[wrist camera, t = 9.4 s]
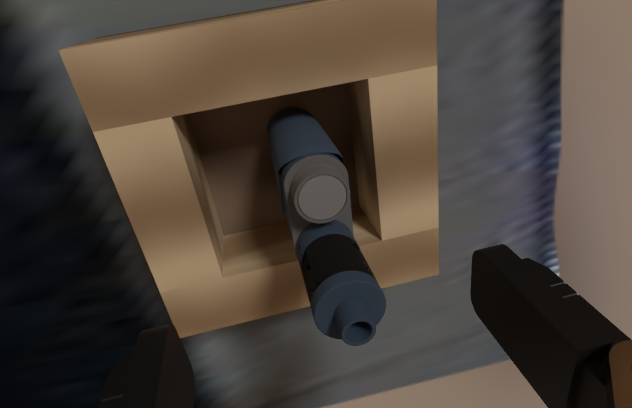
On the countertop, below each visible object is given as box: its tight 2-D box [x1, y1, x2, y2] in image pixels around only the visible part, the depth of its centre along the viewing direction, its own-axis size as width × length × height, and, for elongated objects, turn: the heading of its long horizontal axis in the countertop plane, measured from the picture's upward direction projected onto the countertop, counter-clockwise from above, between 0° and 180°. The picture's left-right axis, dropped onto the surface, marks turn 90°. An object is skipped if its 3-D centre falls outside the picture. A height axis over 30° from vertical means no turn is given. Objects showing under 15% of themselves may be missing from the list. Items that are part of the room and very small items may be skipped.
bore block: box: [59, 0, 439, 338], centre depth 21 cm, size 14×14×5 cm
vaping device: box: [267, 107, 386, 346], centre depth 17 cm, size 3×5×12 cm, turn 7°
